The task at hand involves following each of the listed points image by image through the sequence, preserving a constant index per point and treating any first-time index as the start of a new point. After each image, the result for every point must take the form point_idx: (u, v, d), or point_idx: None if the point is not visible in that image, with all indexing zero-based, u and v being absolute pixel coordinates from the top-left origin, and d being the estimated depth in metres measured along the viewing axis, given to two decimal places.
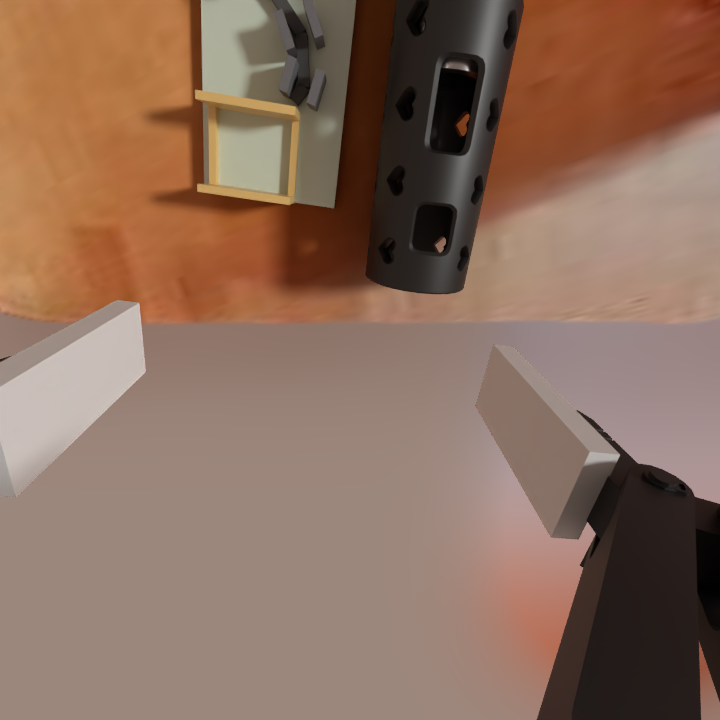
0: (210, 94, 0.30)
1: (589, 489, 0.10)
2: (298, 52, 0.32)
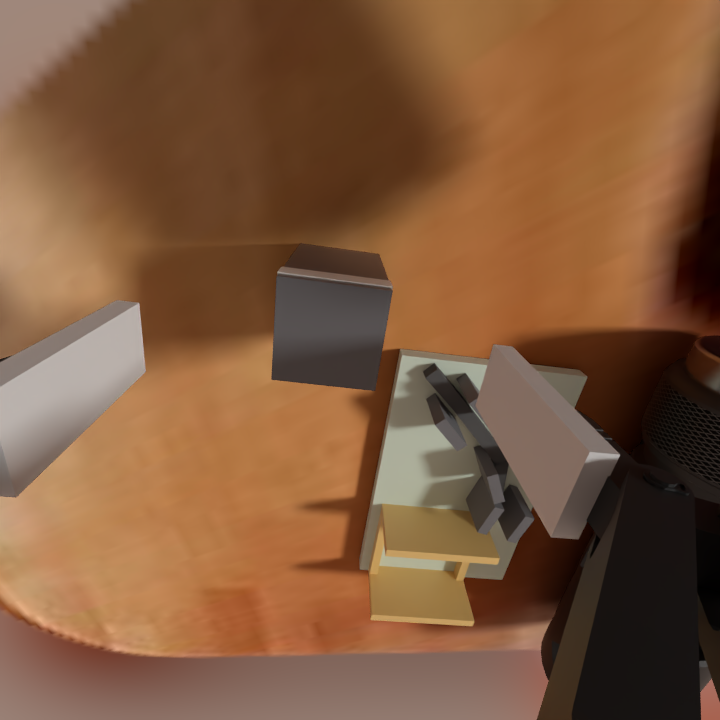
0: (403, 552, 0.26)
1: (589, 489, 0.10)
2: None
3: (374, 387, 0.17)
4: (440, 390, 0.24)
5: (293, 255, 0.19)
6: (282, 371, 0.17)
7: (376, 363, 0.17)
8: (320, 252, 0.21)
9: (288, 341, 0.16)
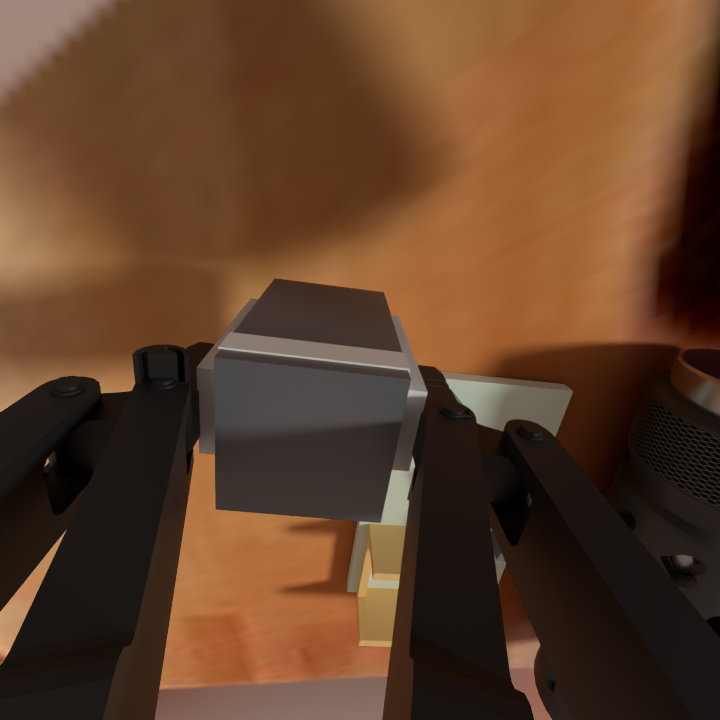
0: (391, 575, 0.25)
1: (408, 424, 0.11)
2: None
3: (379, 518, 0.11)
4: None
5: (258, 303, 0.13)
6: (232, 498, 0.11)
7: (382, 485, 0.11)
8: (300, 294, 0.15)
9: (239, 455, 0.10)
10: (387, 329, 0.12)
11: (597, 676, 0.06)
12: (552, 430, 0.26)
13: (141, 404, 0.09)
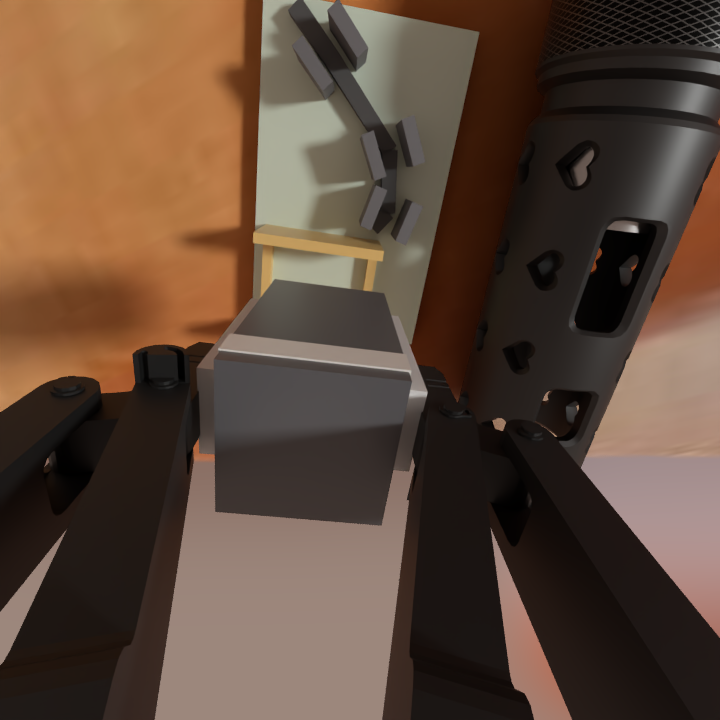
0: (273, 237, 0.23)
1: (408, 423, 0.11)
2: None
3: (380, 521, 0.11)
4: (307, 31, 0.21)
5: (258, 304, 0.13)
6: (232, 501, 0.11)
7: (383, 488, 0.10)
8: (301, 295, 0.14)
9: (239, 457, 0.10)
10: (388, 330, 0.12)
11: (597, 676, 0.06)
12: (459, 92, 0.24)
13: (141, 404, 0.09)
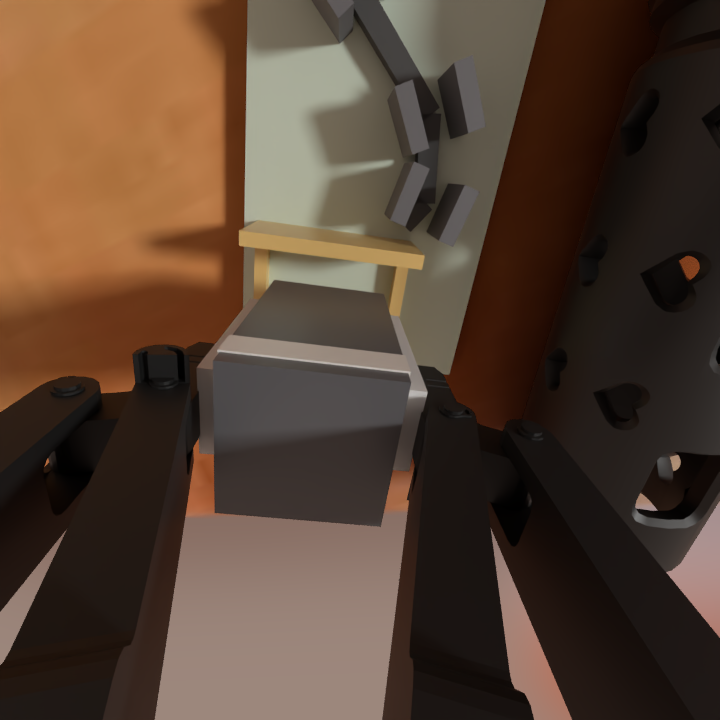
0: (267, 238, 0.16)
1: (408, 424, 0.11)
2: None
3: (379, 522, 0.11)
4: None
5: (257, 305, 0.13)
6: (232, 502, 0.11)
7: (382, 489, 0.10)
8: (300, 296, 0.14)
9: (239, 458, 0.10)
10: (387, 331, 0.12)
11: (597, 676, 0.06)
12: (527, 31, 0.17)
13: (141, 404, 0.09)
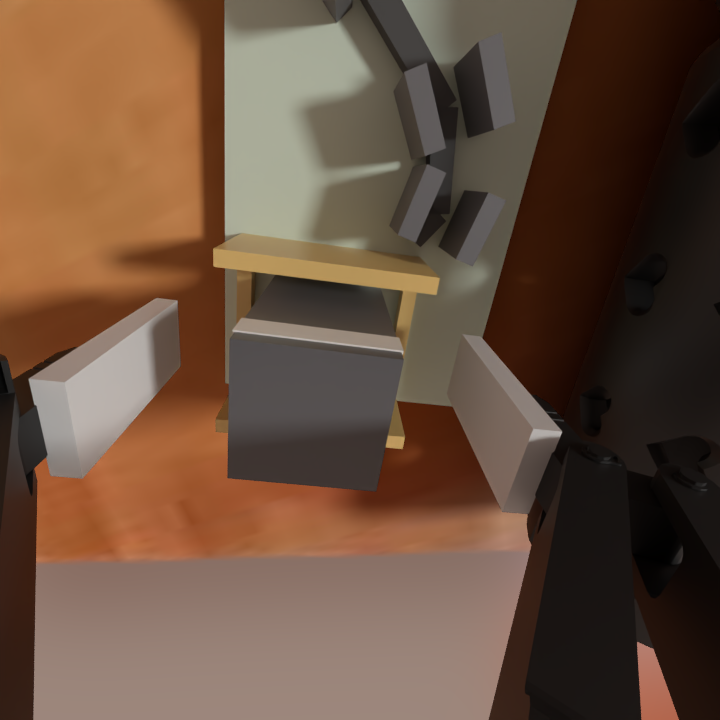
0: (248, 257, 0.13)
1: (535, 465, 0.10)
2: None
3: (375, 487, 0.12)
4: None
5: (264, 293, 0.14)
6: (243, 468, 0.12)
7: (378, 456, 0.12)
8: (303, 286, 0.16)
9: (250, 428, 0.11)
10: (383, 317, 0.14)
11: None
12: (562, 7, 0.14)
13: None
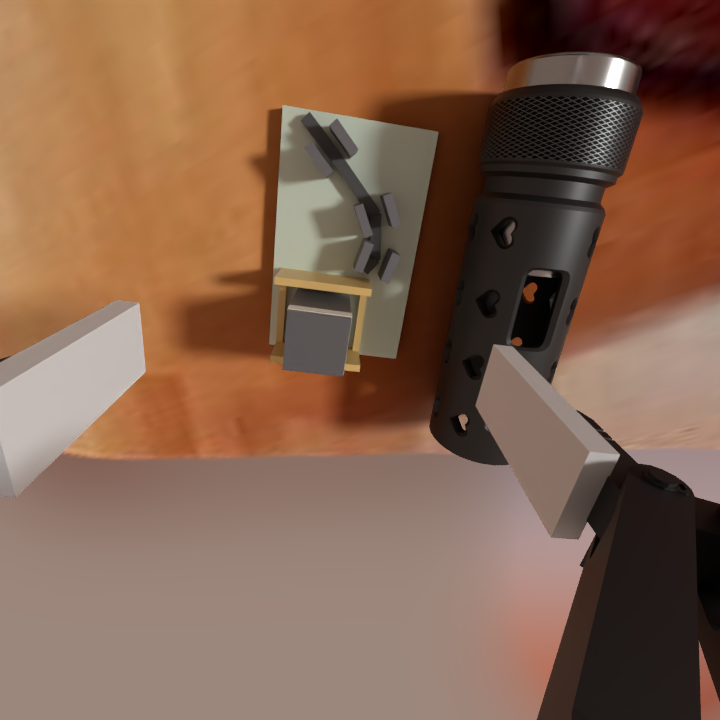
0: (289, 280, 0.31)
1: (589, 489, 0.10)
2: None
3: (342, 374, 0.30)
4: (314, 134, 0.30)
5: (295, 296, 0.32)
6: (289, 365, 0.29)
7: (343, 360, 0.29)
8: (311, 293, 0.33)
9: (292, 347, 0.29)
10: (347, 306, 0.31)
11: None
12: (425, 172, 0.32)
13: None
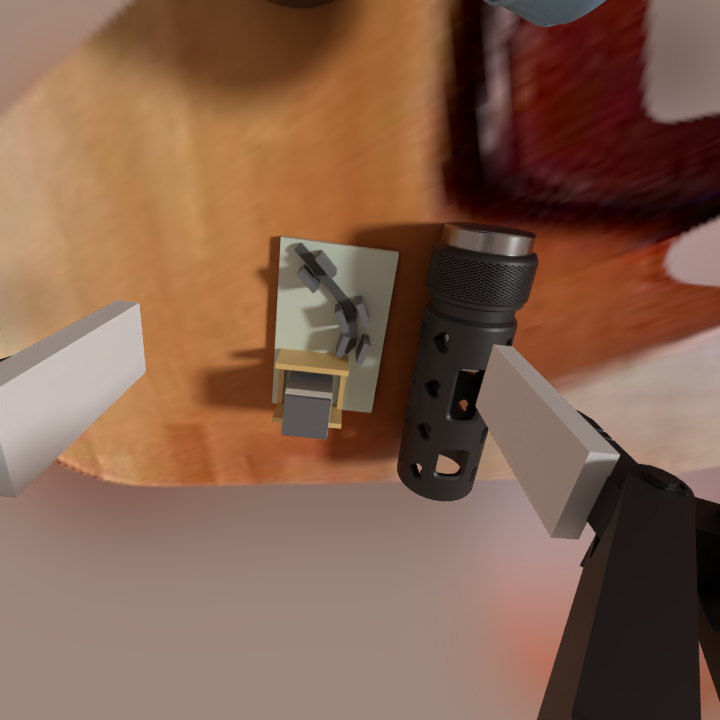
0: (286, 365, 0.41)
1: (589, 489, 0.10)
2: (349, 323, 0.43)
3: None
4: (304, 258, 0.40)
5: (291, 375, 0.42)
6: (286, 431, 0.40)
7: (326, 428, 0.40)
8: None
9: (289, 419, 0.39)
10: (330, 384, 0.42)
11: None
12: (390, 281, 0.42)
13: None
